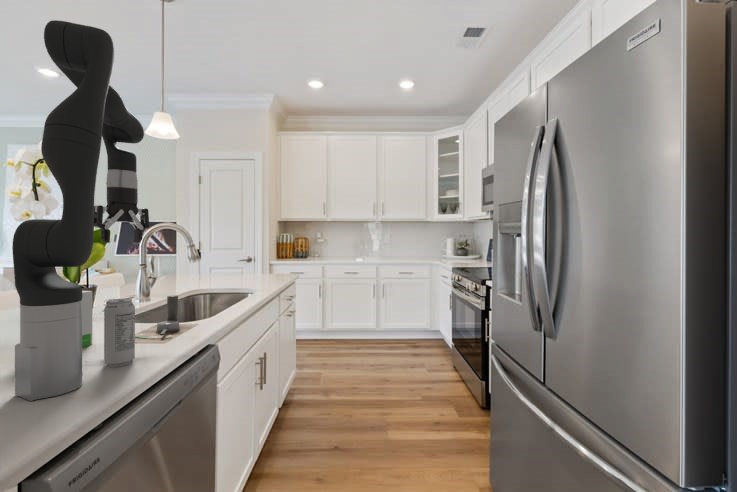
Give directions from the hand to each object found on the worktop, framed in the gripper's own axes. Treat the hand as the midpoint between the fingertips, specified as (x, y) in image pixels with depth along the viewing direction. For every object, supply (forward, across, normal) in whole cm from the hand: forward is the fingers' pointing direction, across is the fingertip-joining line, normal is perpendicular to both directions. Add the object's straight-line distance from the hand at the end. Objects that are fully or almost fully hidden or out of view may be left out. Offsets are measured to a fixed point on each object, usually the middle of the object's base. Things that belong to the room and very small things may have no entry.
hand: (122, 242), depth 108 cm
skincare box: (+28, -15, -3) cm, 32 cm away
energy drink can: (+28, -13, -23) cm, 38 cm away
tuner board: (+28, +6, -8) cm, 30 cm away
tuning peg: (+27, +9, -8) cm, 30 cm away
